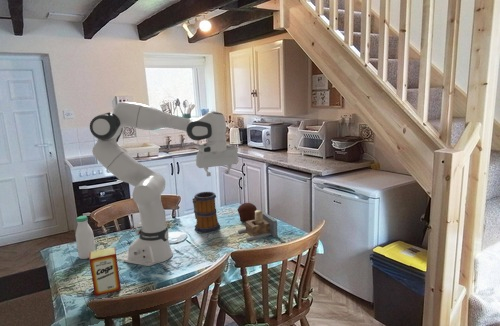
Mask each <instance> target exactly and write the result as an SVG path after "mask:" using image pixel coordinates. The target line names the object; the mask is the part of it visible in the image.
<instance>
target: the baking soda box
mask: <svg viewBox="0 0 500 326" xmlns="http://www.w3.org/2000/svg"><path fill="white" fill-rule="evenodd" d="M88 262H89V266H90V272H91V280H92V286H93V293H94V297H98V296H103V295H107V294H110V293H115V292H118V290H119V291H121V290H122V288H121V287H122V286H121V281H120V280H121V279H120V273H119V266H118V265H119V264H118V259H117V250H116V246H114V247H109V248H104V249H102V248H101V249H97V250H96V251H93V252H90V253H89V258H88ZM114 291H115V292H114ZM106 293H107V294H106Z"/></svg>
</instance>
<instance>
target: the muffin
mask: <svg viewBox="0 0 500 326" xmlns="http://www.w3.org/2000/svg"><path fill="white" fill-rule="evenodd" d="M236 210H237V212H238V215H239V220H240V222H243V223H246V221H250V220H255V211H256V210H258V209H257V206H256V205H255V204H253V203H251V202H243V203H242V204H240V205H239V206H238V207H237V209H236Z"/></svg>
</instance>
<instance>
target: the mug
mask: <svg viewBox="0 0 500 326" xmlns="http://www.w3.org/2000/svg"><path fill="white" fill-rule="evenodd" d="M216 198H217V195H216V193H215V192H213V191H202V192H198V193H195V195H194V198H193V197H192V204H193V212H194V217H195V220H196V224H195V225H194V231H195V232H196V233H199V234H202V235H203V234H204V235H205V234H211V233H215V232H217V231H219V230H220V228H221V225H220V223H219V221H218V215H217V208H216Z"/></svg>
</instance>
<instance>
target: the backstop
mask: <svg viewBox="0 0 500 326" xmlns="http://www.w3.org/2000/svg"><path fill="white" fill-rule="evenodd" d="M260 210H261V211H262V217H263V219H264V220H266V221H267V222H268V223H270V232H268V233H264V234H260V235H256V236H247V237H246V238H245V241H252V240H255V239H260V238H264V237H269V236H272V237H273V238H277V237H278V220H277V219H275V218H274V217H273V216H271V215H269V214H268V213H267V212H265V211H264V210H263V209H260ZM237 232H238V234H242V233H247V232H246V228H242V229H238V231H237Z"/></svg>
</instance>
